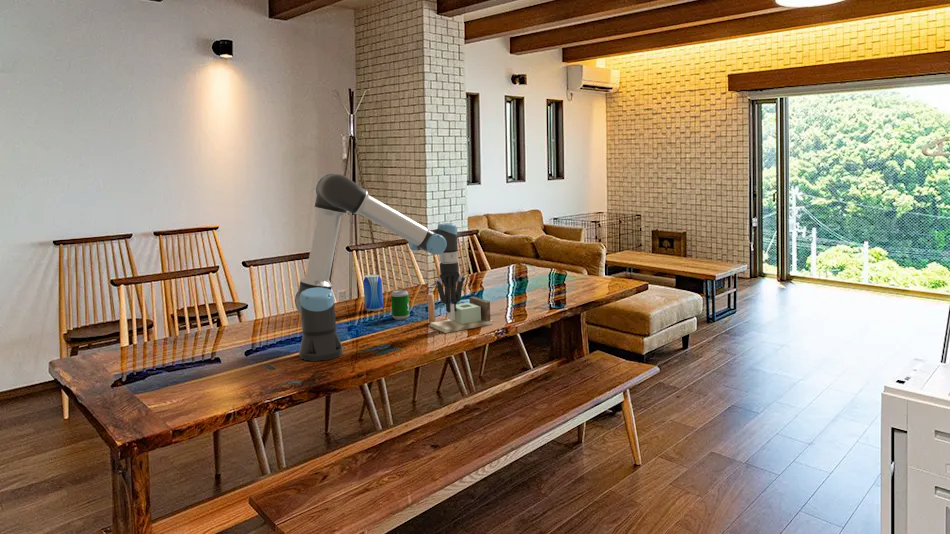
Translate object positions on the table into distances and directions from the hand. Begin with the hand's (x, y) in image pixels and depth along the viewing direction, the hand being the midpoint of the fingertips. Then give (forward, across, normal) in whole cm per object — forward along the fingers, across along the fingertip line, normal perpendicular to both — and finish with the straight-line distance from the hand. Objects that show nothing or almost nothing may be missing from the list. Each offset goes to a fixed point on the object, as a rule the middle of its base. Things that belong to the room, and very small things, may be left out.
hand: (451, 319), depth 258 cm
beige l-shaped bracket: (+3, +4, 0) cm, 6 cm away
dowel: (+3, -4, +11) cm, 12 cm away
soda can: (+3, -11, +27) cm, 29 cm away
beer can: (+3, -14, +50) cm, 52 cm away
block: (+2, +7, 0) cm, 7 cm away
